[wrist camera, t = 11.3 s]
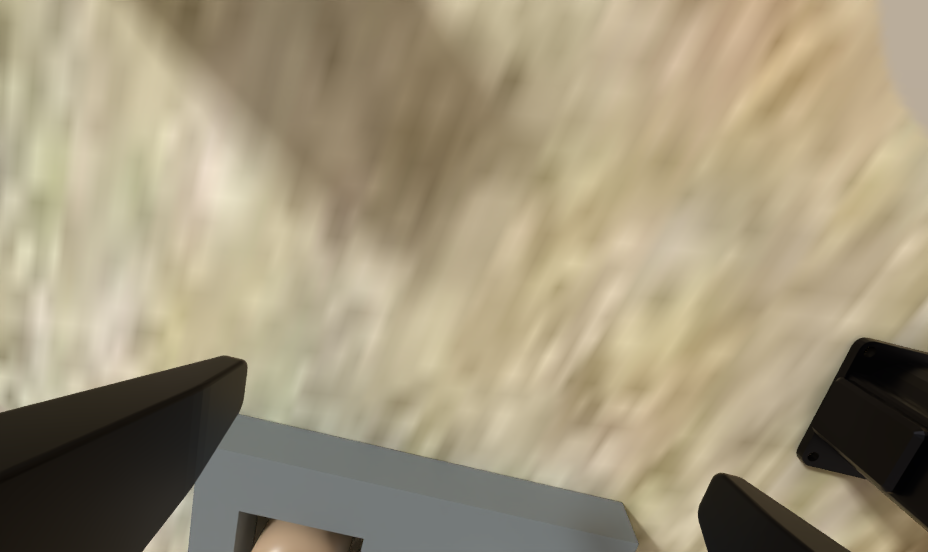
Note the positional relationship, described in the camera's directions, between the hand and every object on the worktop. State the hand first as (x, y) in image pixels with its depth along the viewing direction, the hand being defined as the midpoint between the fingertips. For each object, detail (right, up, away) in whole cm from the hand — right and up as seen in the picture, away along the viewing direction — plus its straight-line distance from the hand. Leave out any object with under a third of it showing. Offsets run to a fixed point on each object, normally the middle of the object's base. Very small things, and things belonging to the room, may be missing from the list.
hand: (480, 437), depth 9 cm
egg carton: (-3, -12, +16) cm, 20 cm away
